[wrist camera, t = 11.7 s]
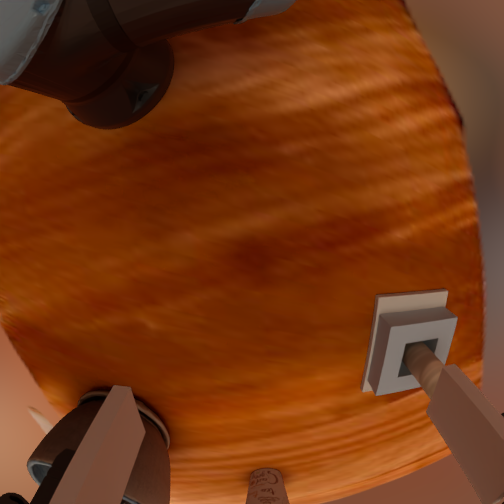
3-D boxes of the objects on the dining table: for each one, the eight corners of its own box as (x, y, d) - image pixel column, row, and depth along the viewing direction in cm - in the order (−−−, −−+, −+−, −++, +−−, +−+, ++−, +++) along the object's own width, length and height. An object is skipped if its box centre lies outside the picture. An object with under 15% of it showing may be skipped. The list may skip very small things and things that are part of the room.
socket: (376, 294, 38) (391, 309, 33) (444, 288, 38) (463, 300, 33) (360, 388, 42) (369, 408, 37) (423, 376, 42) (436, 393, 37)
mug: (290, 465, 46) (296, 505, 36) (279, 494, 49) (281, 529, 39) (247, 463, 46) (246, 505, 36) (240, 492, 49) (239, 528, 39)
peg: (397, 334, 38) (453, 402, 23) (420, 331, 38) (479, 393, 23) (392, 357, 39) (441, 427, 24) (414, 353, 39) (467, 418, 24)
